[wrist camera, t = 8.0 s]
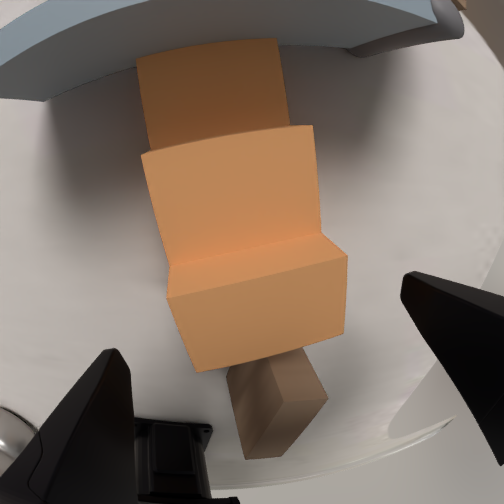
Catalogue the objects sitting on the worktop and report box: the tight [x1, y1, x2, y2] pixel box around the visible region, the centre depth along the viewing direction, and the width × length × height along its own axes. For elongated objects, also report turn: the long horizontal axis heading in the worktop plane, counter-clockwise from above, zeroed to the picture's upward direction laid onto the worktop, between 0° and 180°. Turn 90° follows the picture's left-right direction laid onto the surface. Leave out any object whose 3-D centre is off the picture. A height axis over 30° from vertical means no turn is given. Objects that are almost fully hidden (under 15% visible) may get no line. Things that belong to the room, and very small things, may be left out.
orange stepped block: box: [136, 38, 348, 373], centre depth 9 cm, size 10×5×6 cm, turn 8°
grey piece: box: [0, 0, 464, 102], centre depth 6 cm, size 15×2×6 cm, turn 98°
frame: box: [226, 0, 466, 460], centre depth 9 cm, size 26×2×6 cm, turn 164°
